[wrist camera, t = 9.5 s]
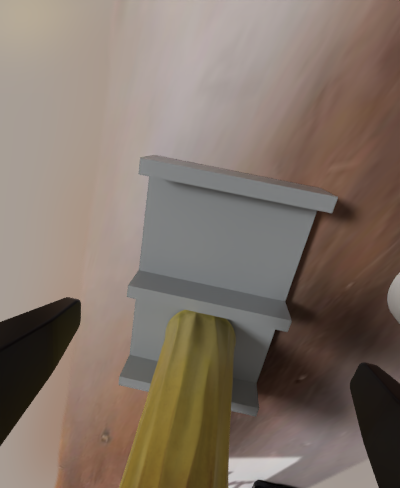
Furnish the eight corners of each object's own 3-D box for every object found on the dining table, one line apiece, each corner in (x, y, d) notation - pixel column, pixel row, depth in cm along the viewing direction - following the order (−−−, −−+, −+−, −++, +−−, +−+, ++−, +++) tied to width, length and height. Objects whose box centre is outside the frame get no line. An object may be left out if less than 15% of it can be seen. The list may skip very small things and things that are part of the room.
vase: (152, 325, 24) (50, 557, 10) (209, 293, 22) (174, 524, 9) (192, 372, 25) (147, 630, 12) (249, 346, 23) (271, 614, 10)
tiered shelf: (252, 383, 26) (255, 416, 23) (131, 356, 26) (118, 384, 23) (320, 188, 19) (337, 197, 16) (154, 155, 19) (140, 157, 16)
